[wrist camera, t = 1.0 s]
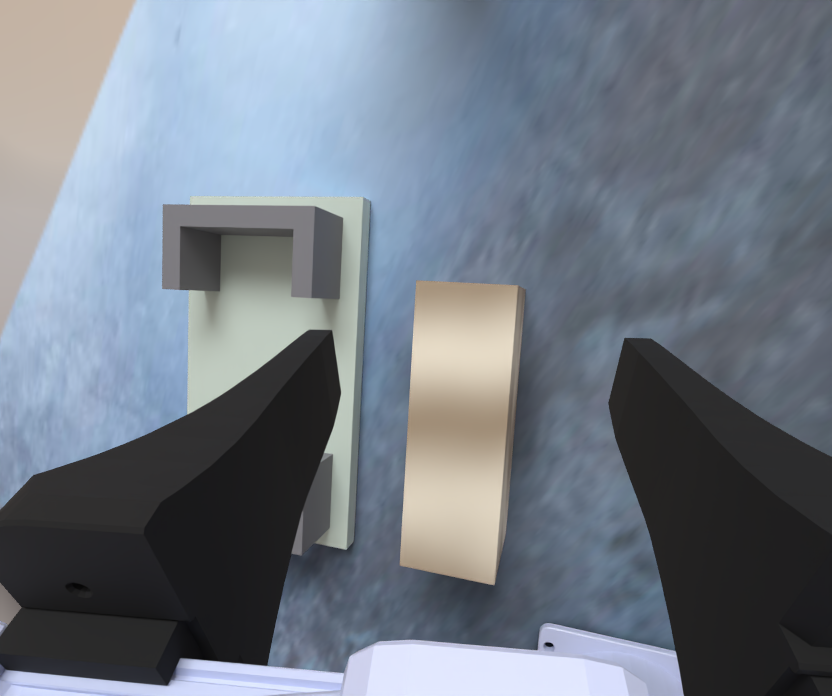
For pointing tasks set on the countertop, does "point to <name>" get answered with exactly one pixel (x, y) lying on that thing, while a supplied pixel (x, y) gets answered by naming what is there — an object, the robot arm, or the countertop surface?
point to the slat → (461, 427)
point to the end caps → (277, 314)
